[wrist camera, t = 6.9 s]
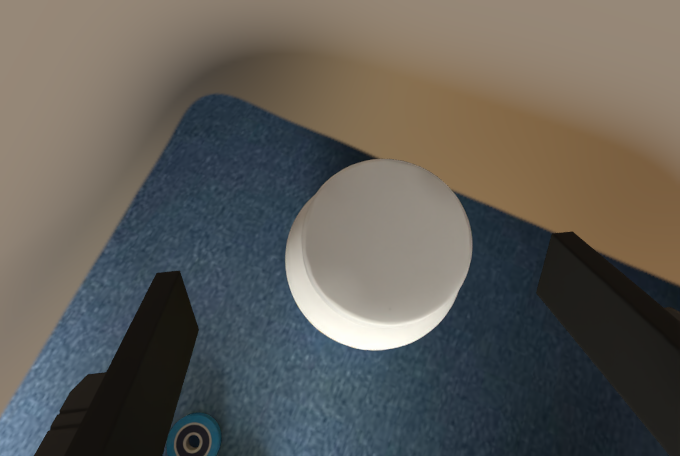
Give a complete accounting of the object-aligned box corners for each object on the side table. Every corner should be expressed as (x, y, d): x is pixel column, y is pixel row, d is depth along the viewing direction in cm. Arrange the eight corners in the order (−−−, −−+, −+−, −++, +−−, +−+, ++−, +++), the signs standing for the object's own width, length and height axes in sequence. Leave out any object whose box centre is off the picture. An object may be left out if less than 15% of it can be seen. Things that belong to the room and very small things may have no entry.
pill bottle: (372, 367, 20) (425, 413, 9) (276, 298, 21) (222, 267, 10) (434, 269, 21) (541, 211, 11) (342, 207, 22) (356, 95, 11)
